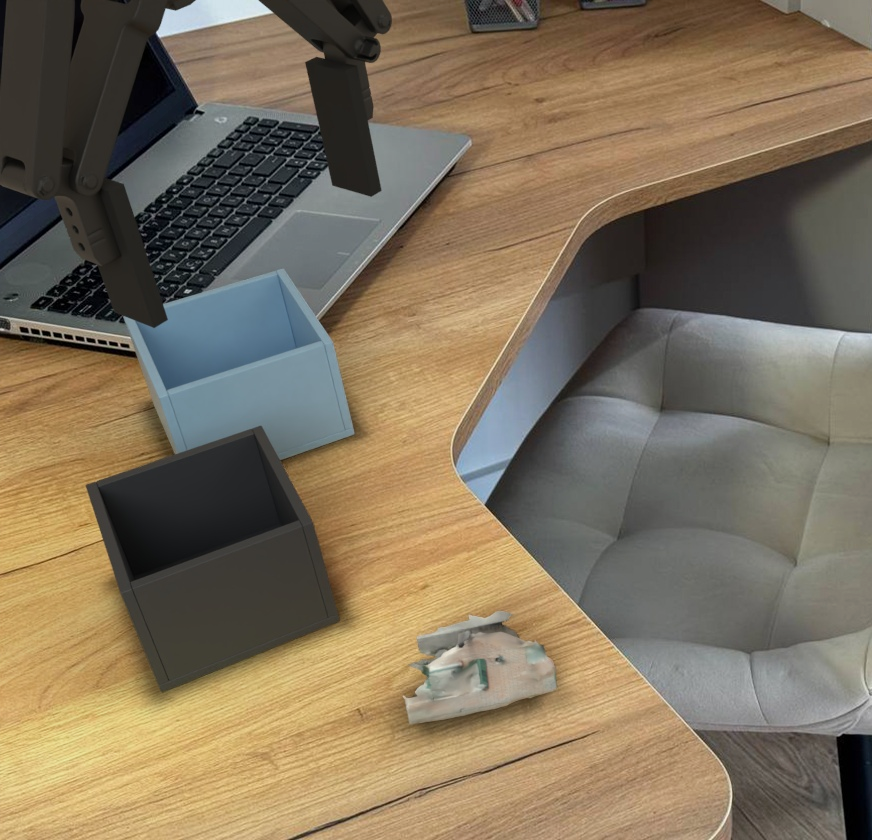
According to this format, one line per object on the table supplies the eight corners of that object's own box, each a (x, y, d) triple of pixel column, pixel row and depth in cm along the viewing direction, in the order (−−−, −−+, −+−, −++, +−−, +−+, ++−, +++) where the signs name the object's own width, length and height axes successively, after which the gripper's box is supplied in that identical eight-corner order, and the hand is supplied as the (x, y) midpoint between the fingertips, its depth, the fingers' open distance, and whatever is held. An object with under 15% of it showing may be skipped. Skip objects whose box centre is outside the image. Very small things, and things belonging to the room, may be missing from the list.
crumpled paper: (561, 700, 69) (549, 606, 65) (411, 738, 68) (388, 645, 64) (544, 643, 73) (531, 551, 68) (400, 678, 71) (378, 586, 67)
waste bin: (161, 693, 71) (120, 593, 67) (124, 581, 79) (85, 484, 74) (340, 621, 75) (313, 521, 70) (289, 521, 82) (261, 424, 78)
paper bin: (191, 492, 85) (158, 397, 80) (154, 405, 93) (122, 315, 88) (355, 434, 89) (333, 341, 84) (306, 356, 97) (283, 267, 92)
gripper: (-134, -165, 39) (87, 408, 52) (419, -305, 55) (485, 158, 68) (-261, -183, 43) (-24, 357, 55) (294, -310, 59) (378, 131, 71)
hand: (256, 248), depth 62 cm, fingers open, 13 cm apart
